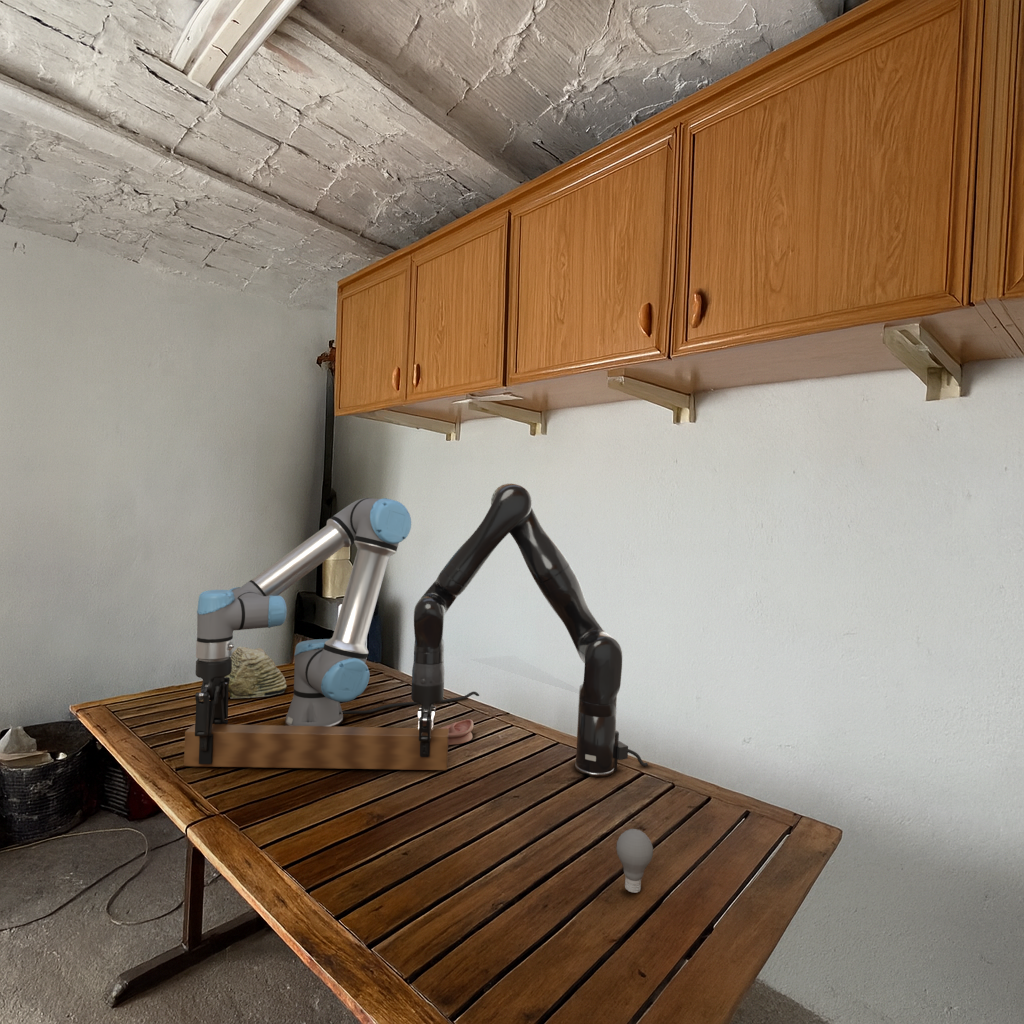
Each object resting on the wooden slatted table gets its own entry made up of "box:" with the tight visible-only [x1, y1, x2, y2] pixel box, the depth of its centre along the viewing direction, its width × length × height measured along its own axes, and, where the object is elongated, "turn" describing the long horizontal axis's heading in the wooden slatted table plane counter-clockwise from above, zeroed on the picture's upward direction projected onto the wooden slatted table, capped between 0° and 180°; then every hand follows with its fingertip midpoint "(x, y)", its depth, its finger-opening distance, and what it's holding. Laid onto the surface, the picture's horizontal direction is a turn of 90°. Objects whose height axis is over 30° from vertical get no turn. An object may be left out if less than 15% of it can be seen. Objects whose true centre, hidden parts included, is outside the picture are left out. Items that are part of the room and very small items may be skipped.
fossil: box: [225, 646, 288, 699], centre depth 198 cm, size 9×18×15 cm, turn 132°
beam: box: [183, 723, 449, 771], centre depth 148 cm, size 59×5×8 cm, turn 93°
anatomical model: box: [438, 718, 474, 746], centre depth 169 cm, size 13×4×12 cm
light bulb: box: [615, 828, 654, 894], centre depth 106 cm, size 6×6×10 cm
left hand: (210, 757), depth 146 cm, fingers open, 5 cm apart
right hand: (425, 751), depth 149 cm, fingers closed on beam, 5 cm apart
